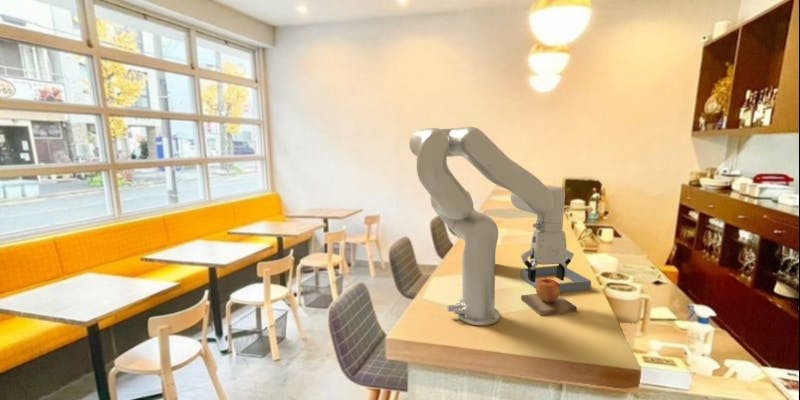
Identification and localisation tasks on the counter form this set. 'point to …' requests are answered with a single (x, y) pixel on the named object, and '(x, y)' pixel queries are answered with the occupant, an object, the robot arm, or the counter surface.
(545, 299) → the apple
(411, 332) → the counter surface
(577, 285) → the bin
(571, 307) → the board
